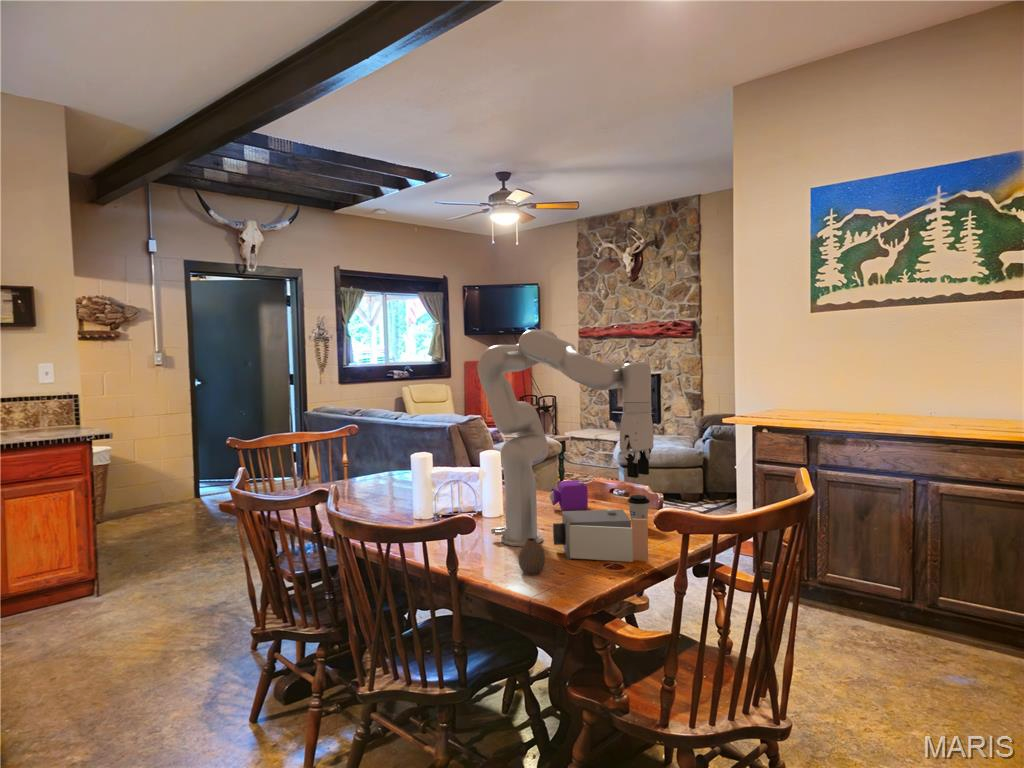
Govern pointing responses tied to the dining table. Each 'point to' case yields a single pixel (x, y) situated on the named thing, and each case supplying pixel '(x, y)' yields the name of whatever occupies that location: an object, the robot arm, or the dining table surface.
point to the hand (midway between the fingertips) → (638, 475)
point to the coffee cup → (638, 507)
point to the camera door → (608, 542)
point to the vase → (531, 557)
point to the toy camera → (570, 495)
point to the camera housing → (589, 521)
